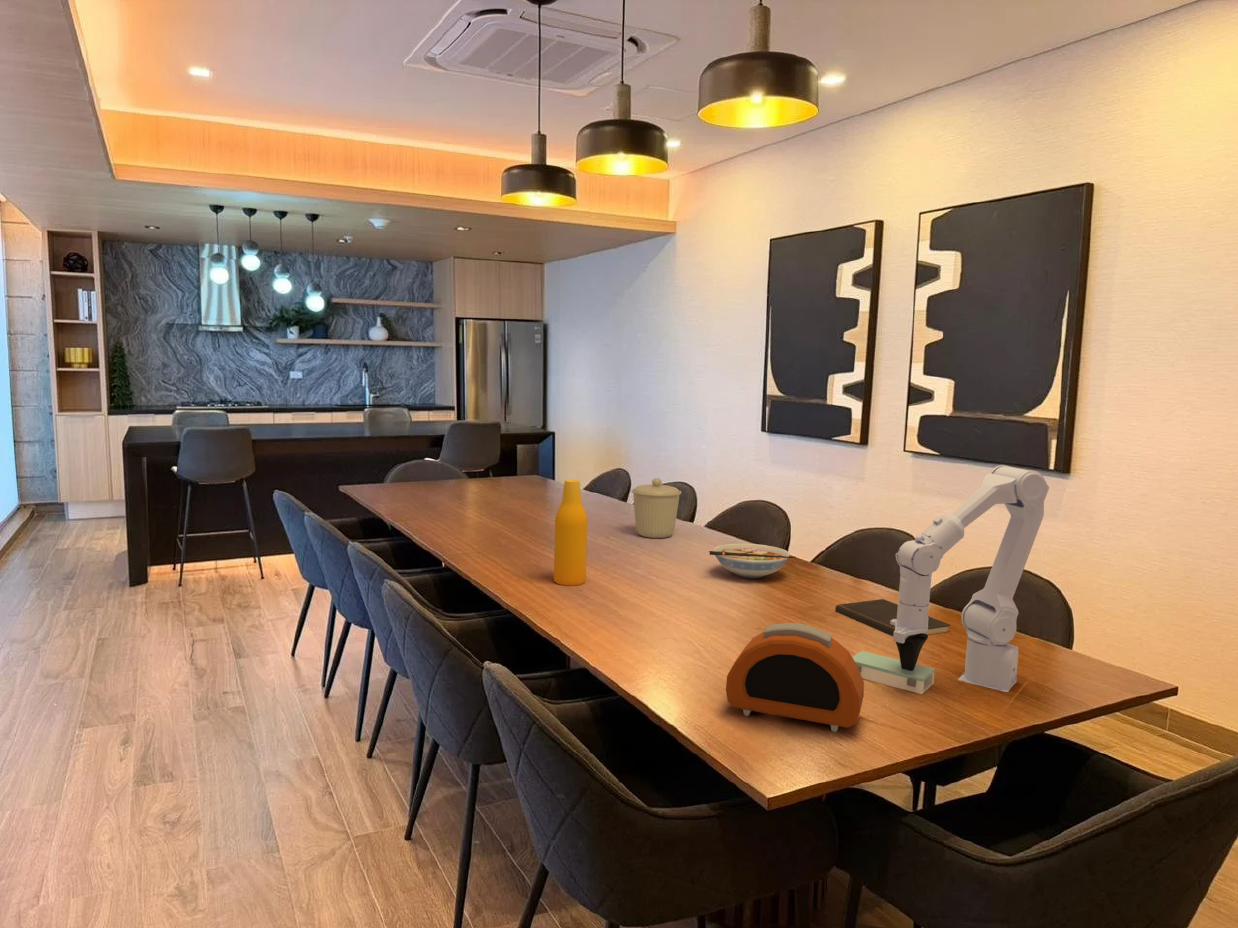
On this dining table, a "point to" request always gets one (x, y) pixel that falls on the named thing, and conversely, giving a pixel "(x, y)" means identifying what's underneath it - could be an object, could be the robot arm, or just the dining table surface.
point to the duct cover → (891, 666)
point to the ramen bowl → (750, 559)
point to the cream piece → (896, 680)
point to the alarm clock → (797, 677)
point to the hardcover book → (882, 616)
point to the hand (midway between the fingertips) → (907, 669)
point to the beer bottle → (570, 537)
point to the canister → (655, 509)
